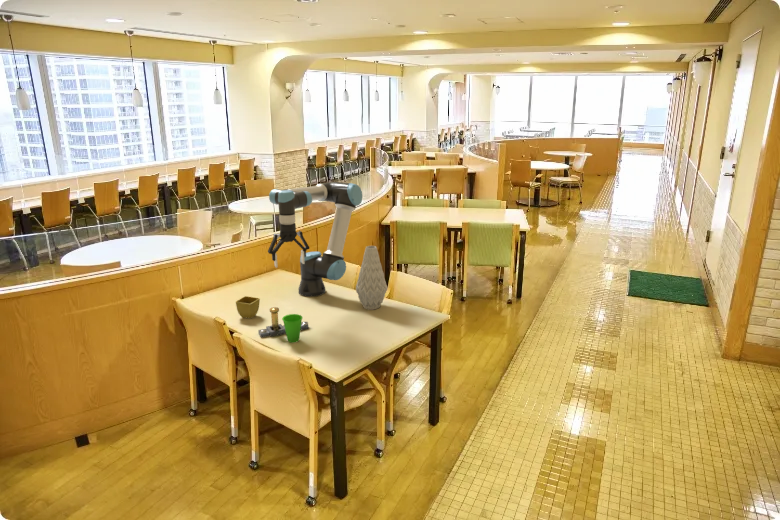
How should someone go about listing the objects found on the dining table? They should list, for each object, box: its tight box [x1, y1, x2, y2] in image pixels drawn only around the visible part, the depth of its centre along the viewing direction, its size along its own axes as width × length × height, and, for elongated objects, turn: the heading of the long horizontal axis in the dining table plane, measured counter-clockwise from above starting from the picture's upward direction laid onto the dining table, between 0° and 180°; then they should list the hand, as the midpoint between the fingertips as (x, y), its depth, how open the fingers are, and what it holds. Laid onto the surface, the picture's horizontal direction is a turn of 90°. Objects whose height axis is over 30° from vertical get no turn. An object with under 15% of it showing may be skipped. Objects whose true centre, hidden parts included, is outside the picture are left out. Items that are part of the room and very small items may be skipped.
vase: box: [355, 245, 388, 311], centre depth 276 cm, size 17×17×33 cm
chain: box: [257, 321, 309, 338], centre depth 250 cm, size 23×7×2 cm, turn 117°
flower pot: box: [235, 295, 261, 319], centre depth 266 cm, size 9×9×9 cm
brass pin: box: [269, 306, 280, 330], centre depth 247 cm, size 4×4×12 cm
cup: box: [281, 313, 303, 343], centre depth 240 cm, size 9×9×11 cm
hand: (289, 265), depth 261 cm, fingers open, 13 cm apart
